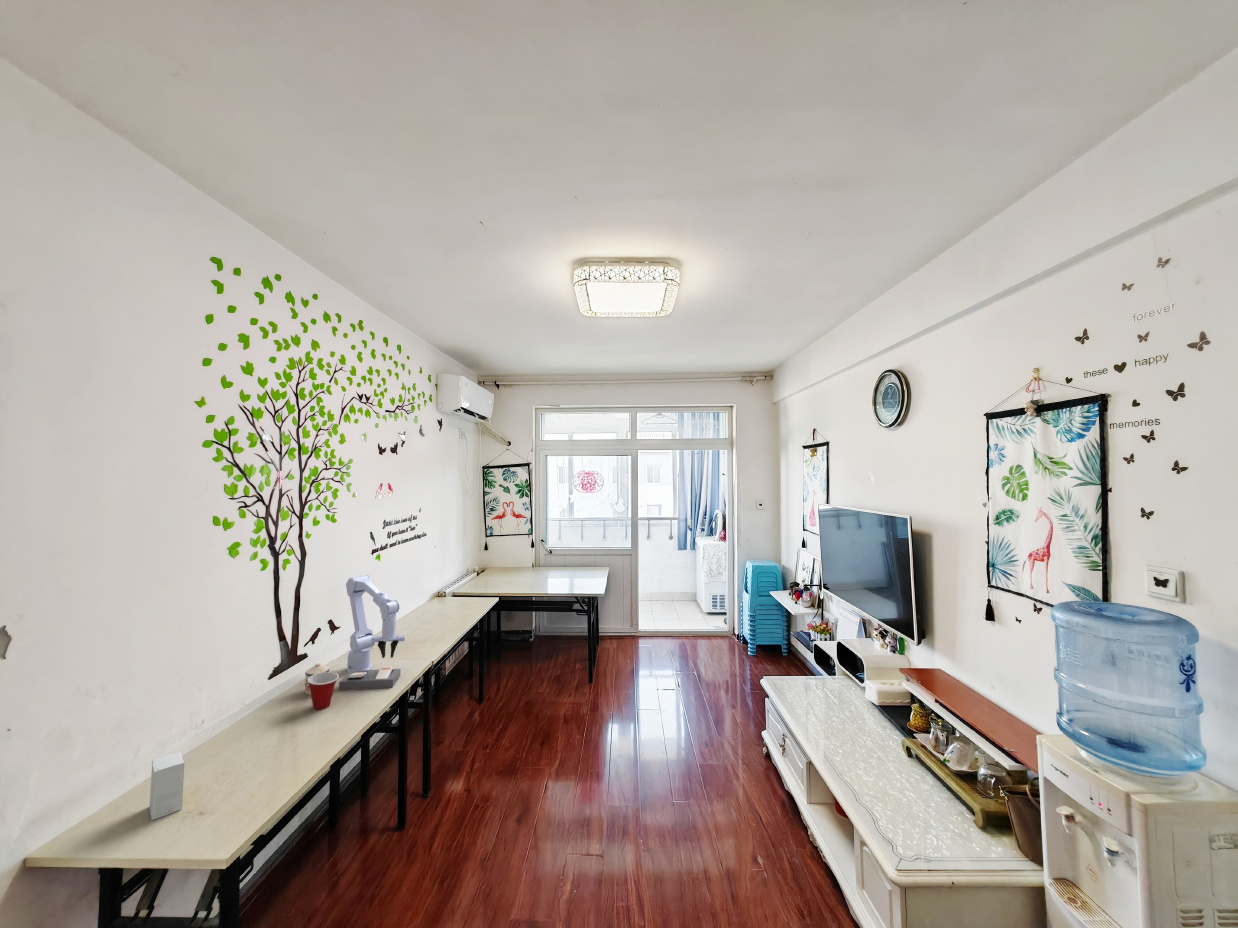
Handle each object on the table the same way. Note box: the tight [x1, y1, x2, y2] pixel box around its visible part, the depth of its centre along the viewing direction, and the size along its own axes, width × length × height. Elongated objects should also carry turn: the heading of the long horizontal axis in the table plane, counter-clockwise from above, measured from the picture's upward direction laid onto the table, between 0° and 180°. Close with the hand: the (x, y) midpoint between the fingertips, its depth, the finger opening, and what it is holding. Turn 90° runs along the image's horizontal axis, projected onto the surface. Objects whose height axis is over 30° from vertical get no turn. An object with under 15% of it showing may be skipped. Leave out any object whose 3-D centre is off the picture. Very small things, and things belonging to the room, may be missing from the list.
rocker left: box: [349, 672, 367, 678], centre depth 215 cm, size 5×8×1 cm, turn 10°
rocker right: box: [375, 666, 394, 679], centre depth 216 cm, size 5×8×1 cm, turn 10°
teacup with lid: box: [304, 662, 331, 696], centre depth 207 cm, size 12×9×12 cm
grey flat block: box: [338, 668, 402, 691], centre depth 215 cm, size 22×12×4 cm, turn 100°
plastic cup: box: [308, 671, 340, 711], centre depth 193 cm, size 11×11×12 cm
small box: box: [149, 751, 185, 821], centre depth 134 cm, size 8×6×13 cm
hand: (387, 657), depth 221 cm, fingers open, 3 cm apart
